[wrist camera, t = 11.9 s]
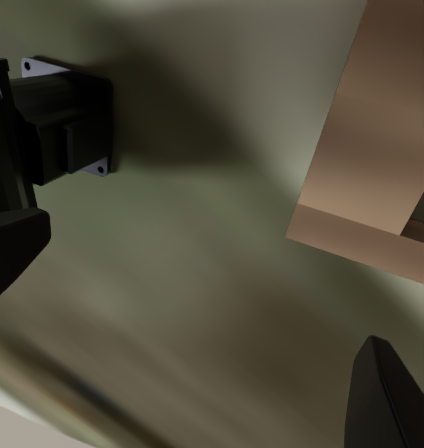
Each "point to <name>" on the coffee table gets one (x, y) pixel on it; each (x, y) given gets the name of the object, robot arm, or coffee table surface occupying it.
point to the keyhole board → (372, 149)
